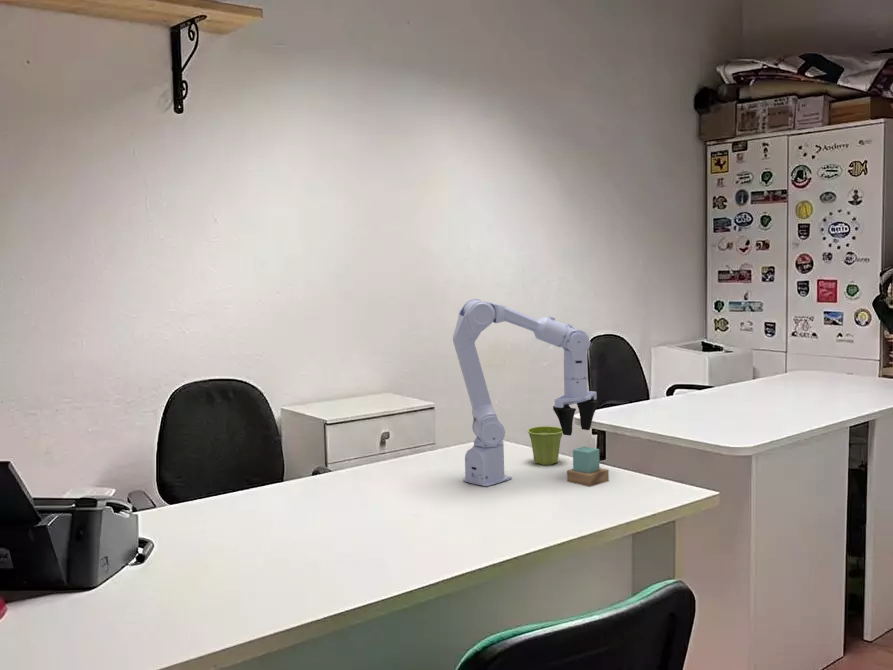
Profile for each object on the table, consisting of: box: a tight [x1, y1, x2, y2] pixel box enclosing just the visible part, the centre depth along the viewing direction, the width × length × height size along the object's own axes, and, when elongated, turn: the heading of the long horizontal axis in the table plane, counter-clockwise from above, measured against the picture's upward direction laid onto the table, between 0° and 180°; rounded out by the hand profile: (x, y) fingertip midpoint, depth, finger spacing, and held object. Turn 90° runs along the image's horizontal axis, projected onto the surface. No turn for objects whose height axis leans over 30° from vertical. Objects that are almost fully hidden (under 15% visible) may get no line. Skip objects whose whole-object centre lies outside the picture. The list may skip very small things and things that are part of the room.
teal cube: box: [572, 446, 600, 473], centre depth 215 cm, size 4×4×5 cm
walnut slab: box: [566, 467, 610, 487], centre depth 215 cm, size 7×7×3 cm
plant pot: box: [526, 425, 563, 466], centre depth 234 cm, size 9×9×9 cm
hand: (576, 432), depth 221 cm, fingers open, 7 cm apart
